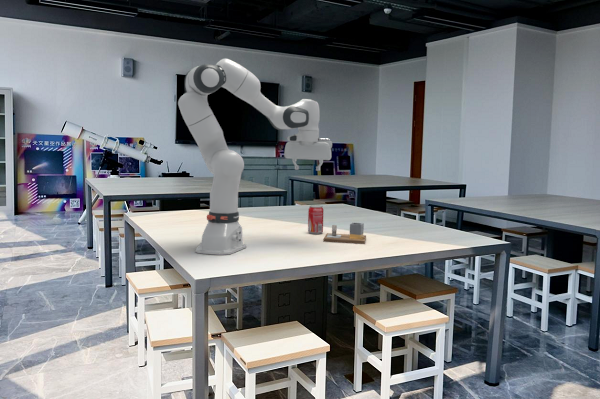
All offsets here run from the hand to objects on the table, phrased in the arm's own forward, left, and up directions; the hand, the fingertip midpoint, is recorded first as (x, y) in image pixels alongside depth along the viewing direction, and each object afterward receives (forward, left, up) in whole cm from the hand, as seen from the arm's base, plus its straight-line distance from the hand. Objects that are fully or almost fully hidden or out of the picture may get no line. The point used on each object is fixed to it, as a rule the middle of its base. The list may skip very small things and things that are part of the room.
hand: (307, 170), depth 215 cm
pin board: (+7, -17, -31) cm, 36 cm away
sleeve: (+7, -22, -29) cm, 37 cm away
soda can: (+19, -2, -31) cm, 37 cm away
